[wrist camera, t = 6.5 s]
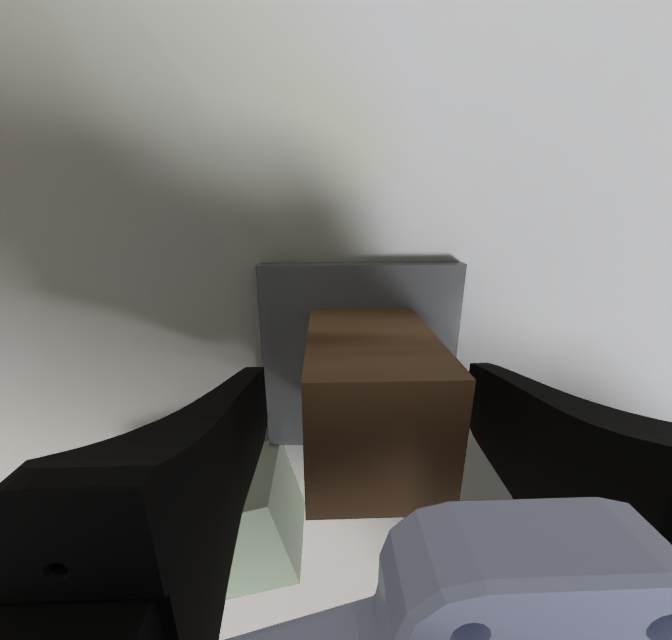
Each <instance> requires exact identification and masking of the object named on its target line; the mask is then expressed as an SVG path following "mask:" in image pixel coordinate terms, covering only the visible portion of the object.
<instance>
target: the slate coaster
mask: <svg viewBox="0 0 672 640" xmlns="http://www.w3.org/2000/svg"><path fill="white" fill-rule="evenodd" d="M466 266H467V264H465V263H462V262H393V263H271V264H258V265H256V275H257V289H258V302H259V315H260V329H261V342H262V355H263V367H264V374H265V388H266V401H267V414H268V421H267V422H268V435H269V445H300V444H303V425H302V396H301V379H302V372H303V364H304V356H305V348H306V341H307V333H308V325H309V317H310V310H311V309H378V308H412V309H413V310H414V311H415V312H416V313H417V314H418V316H419V317H420V318H421V319H422V320H423V321H424V322H425V323H426V325H427V326H428V327H429V328H430V329H431V330H432V331H433V332H434V334H435V335H436V336H437V337H438V338H439V339H440V340H441V341H442V342H443V344H444V345H445V346H446V347H447V348H448V349H449V350H450V351H451V353H452V354H453V355H454V356H455V357H456V354H457V345H458V336H459V327H460V319H461V310H462V301H463V292H464V284H465V275H466Z"/></svg>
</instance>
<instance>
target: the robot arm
mask: <svg viewBox="0 0 672 640" xmlns="http://www.w3.org/2000/svg"><path fill="white" fill-rule="evenodd" d="M469 373H470V374H471V375H472V376H473V377H474V378H475V379H476V384H475V391H474V399H473V406H472V413H471V420H470V429H471V432H472V434H473V436H474V438H475V440H476V441H477V443H478V445H479V446H480V448H481V449H482V451H483V452H484V454H485V456H486V457H487V459H488V460H489V462H490V463H491V465H492V466H493V468H494V470H495V471H496V473H497V474H498V476H499V477H500V479H501V480H502V482H503V483H504V485H505V487H506V488H507V490H508V491H509V493H510V494H511V496H512V498H513V499H511V500H479V501H447V502H443V503H439V504H435V505H431V506H427V507H422V508H418V509H416V510H415V511H413V512H412V513H411V514H410V515H408V516H407V517H406V518H404V519H403V520H402V521H400V522H399V523H398V524H397V525H395V526H394V527H393V528H391V529H390V531H389V533H388V535H387V538H386V540H385V543H384V545H383V548H382V550H381V553H380V557H379V577H378V585H377V590H376V594H375V595H374V596H372V597H368V598H365V599H361V600H358V601H355V602H351V603H348V604H344V605H341V606H338V607H334V608H331V609H327V610H324V611H321V612H317V613H314V614H310V615H307V616H304V617H300V618H297V619H293V620H290V621H287V622H283V623H280V624H276V625H273V626H270V627H266V628H263V629H259V630H256V631H253V632H249V633H246V634H242V635H239V636H236V637H232V638H229V639H225V640H672V422H667V421H662V420H658V419H654V418H649V417H645V416H641V415H637V414H633V413H629V412H625V411H621V410H618V409H614V408H611V407H607V406H604V405H601V404H597V403H594V402H591V401H588V400H585V399H582V398H579V397H576V396H573V395H571V394H568V393H565V392H562V391H560V390H557V389H554V388H552V387H549V386H547V385H544V384H542V383H539V382H537V381H535V380H532V379H530V378H527V377H525V376H522V375H520V374H518V373H515V372H513V371H510V370H508V369H505V368H502V367H500V366H497V365H494V364H490V363H470V371H469ZM267 421H268V414H267V401H266V388H265V374H264V367H246V368H244V369H242V370H241V371H239V372H238V373H236V374H235V375H233V376H232V377H231V378H229V379H228V380H226V381H225V382H223V383H222V384H221V385H219V386H218V387H216V388H215V389H213V390H212V391H210V392H209V393H207V394H205V395H204V396H202V397H201V398H199V399H197V400H196V401H194V402H193V403H191V404H189V405H187V406H186V407H184V408H182V409H180V410H178V411H176V412H174V413H172V414H170V415H168V416H166V417H164V418H162V419H160V420H157V421H155V422H152V423H150V424H147V425H145V426H143V427H140V428H138V429H135V430H133V431H130V432H128V433H125V434H122V435H119V436H116V437H113V438H110V439H107V440H104V441H101V442H97V443H94V444H91V445H87V446H84V447H80V448H77V449H73V450H68V451H64V452H60V453H56V454H52V455H48V456H44V457H40V458H35V459H30V460H27V461H25V462H24V463H23V464H22V465H20V466H19V467H18V468H17V469H16V470H15V471H14V472H12V473H11V474H10V475H9V476H8V477H7V478H5V479H4V480H3V481H2V482H1V483H0V640H219V634H220V628H221V622H222V616H223V611H224V605H225V599H226V593H227V588H228V582H229V577H230V572H231V566H232V561H233V556H234V551H235V546H236V541H237V536H238V531H239V526H240V521H241V516H242V512H243V509H244V505H245V501H246V498H247V495H248V492H249V489H250V486H251V482H252V479H253V476H254V473H255V470H256V467H257V464H258V460H259V457H260V454H261V451H262V447H263V444H264V439H265V433H266V427H267Z"/></svg>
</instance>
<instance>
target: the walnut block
mask: <svg viewBox="0 0 672 640" xmlns="http://www.w3.org/2000/svg"><path fill="white" fill-rule="evenodd" d="M475 384H476V379H475V378H474V377H473V376H472V375H471V374H470V373H469V372H468V370H467V369H466V368H465V367H464V366H463V365H462V364H461V363H460V362H459V360H458V359H457V358H456V357H455V356H454V355H453V354H452V353H451V351H450V350H449V349H448V348H447V347H446V346H445V345H444V344H443V342H442V341H441V340H440V339H439V338H438V337H437V336H436V335H435V334H434V332H433V331H432V330H431V329H430V328H429V327H428V326H427V325H426V323H425V322H424V321H423V320H422V319H421V318H420V317H419V316H418V314H417V313H416V312H415V311H414V310H413V309H412V308H378V309H311V310H310V317H309V325H308V333H307V341H306V348H305V356H304V364H303V372H302V379H301V396H302V425H303V453H304V481H305V510H306V520H326V519H359V518H392V517H407V516H408V515H410V514H411V513H412V512H413V511H415V510H416V509H418V508H422V507H427V506H431V505H435V504H439V503H443V502H447V501H459V499H460V491H461V484H462V477H463V470H464V463H465V456H466V449H467V441H468V434H469V427H470V420H471V413H472V406H473V399H474V391H475Z"/></svg>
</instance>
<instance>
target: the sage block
mask: <svg viewBox="0 0 672 640" xmlns="http://www.w3.org/2000/svg"><path fill="white" fill-rule="evenodd" d="M304 509H305V501H304V498H303V495H302V493H301V490H300V487H299V485H298V482H297V479H296V476H295V474H294V471H293V468H292V466H291V463H290V460H289V458H288V455H287V452H286V450H285V447H284V445H269V440H267V441H264V444H263V447H262V451H261V454H260V457H259V460H258V464H257V467H256V470H255V473H254V476H253V479H252V482H251V486H250V489H249V492H248V495H247V498H246V501H245V505H244V509H243V512H242V516H241V521H240V526H239V531H238V536H237V541H236V546H235V551H234V556H233V561H232V566H231V572H230V577H229V582H228V588H227V593H226V599H225V600H227V599H231V598H236V597H241V596H245V595H250V594H254V593H259V592H263V591H268V590H272V589H277V588H281V587H286V586H290V585H295V584H299V583H300V571H301V555H302V540H303V525H304Z"/></svg>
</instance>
